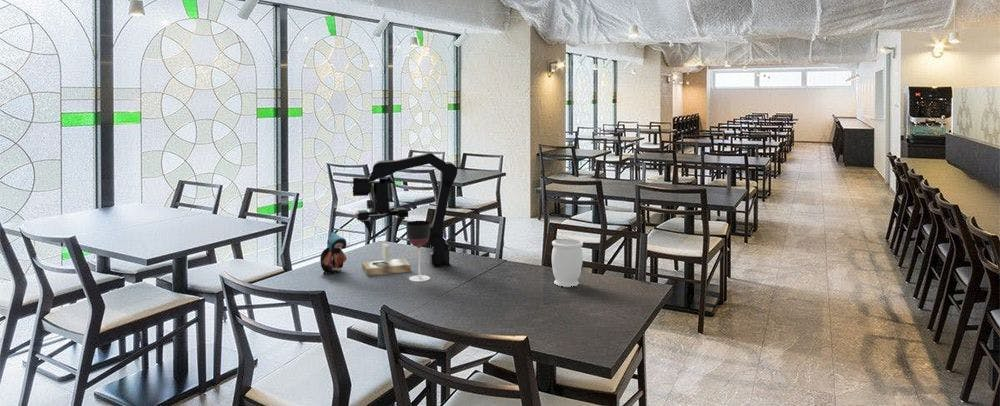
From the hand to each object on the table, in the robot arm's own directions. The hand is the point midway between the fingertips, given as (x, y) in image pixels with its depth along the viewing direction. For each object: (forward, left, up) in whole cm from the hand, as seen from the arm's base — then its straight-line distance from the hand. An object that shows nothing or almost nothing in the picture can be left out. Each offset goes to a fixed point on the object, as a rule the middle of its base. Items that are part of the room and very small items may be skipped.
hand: (382, 236), depth 240 cm
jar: (-54, +44, -12) cm, 71 cm away
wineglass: (-9, +19, -12) cm, 24 cm away
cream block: (+2, +4, -9) cm, 10 cm away
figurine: (+18, 0, -12) cm, 22 cm away
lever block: (0, +4, -12) cm, 13 cm away
